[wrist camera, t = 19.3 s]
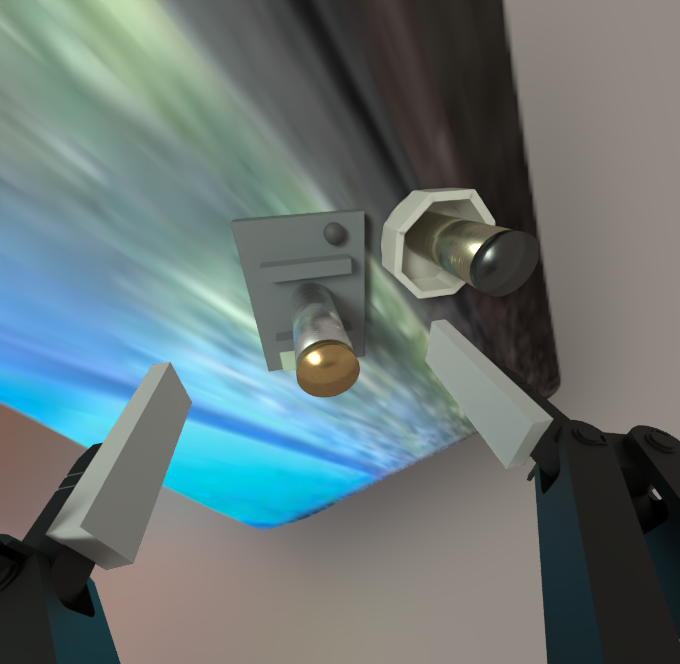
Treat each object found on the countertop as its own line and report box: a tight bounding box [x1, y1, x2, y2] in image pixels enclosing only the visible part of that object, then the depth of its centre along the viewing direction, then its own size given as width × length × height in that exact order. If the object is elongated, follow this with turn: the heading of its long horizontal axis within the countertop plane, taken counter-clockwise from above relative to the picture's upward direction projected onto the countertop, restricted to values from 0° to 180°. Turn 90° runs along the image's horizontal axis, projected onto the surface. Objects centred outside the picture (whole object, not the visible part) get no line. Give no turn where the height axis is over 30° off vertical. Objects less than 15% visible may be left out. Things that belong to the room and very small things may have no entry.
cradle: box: [230, 209, 365, 371], centre depth 23 cm, size 14×10×3 cm
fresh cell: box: [291, 282, 360, 397], centre depth 19 cm, size 4×4×10 cm
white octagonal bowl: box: [380, 188, 495, 299], centre depth 22 cm, size 8×8×4 cm
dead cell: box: [405, 211, 539, 297], centre depth 18 cm, size 4×4×10 cm
